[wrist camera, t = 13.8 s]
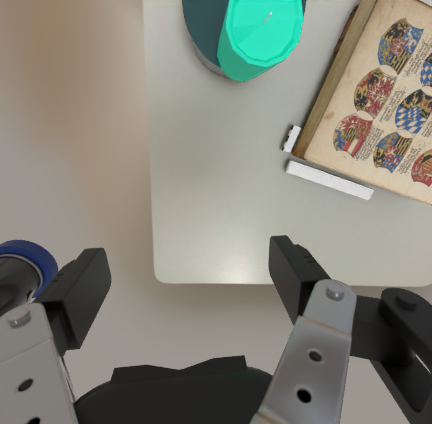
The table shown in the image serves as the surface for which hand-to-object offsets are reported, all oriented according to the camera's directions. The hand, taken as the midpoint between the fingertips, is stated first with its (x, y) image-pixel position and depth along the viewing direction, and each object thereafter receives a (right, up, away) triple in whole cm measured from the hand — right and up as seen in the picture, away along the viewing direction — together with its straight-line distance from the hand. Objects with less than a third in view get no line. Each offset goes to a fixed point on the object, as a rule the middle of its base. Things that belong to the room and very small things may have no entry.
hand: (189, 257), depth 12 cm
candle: (+4, +21, +16) cm, 26 cm away
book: (+28, +17, +29) cm, 44 cm away
